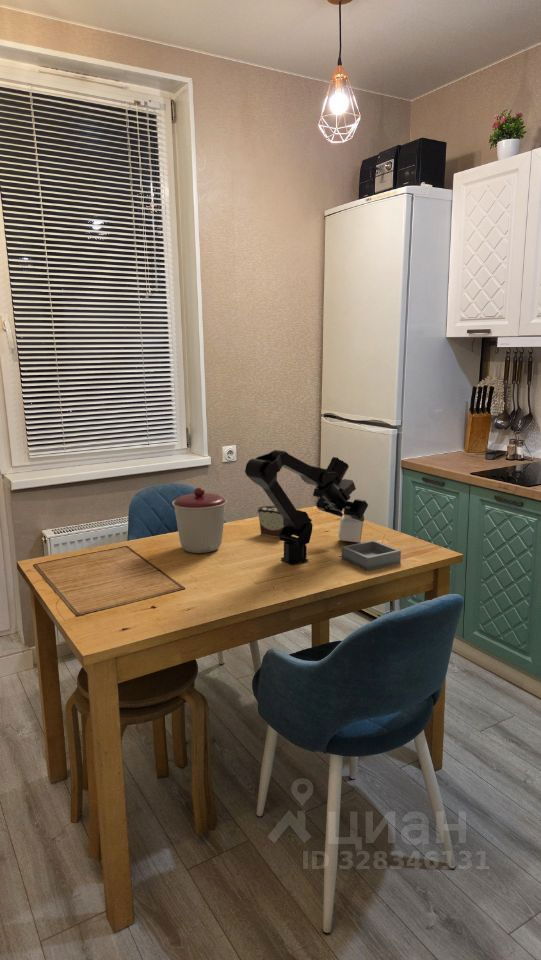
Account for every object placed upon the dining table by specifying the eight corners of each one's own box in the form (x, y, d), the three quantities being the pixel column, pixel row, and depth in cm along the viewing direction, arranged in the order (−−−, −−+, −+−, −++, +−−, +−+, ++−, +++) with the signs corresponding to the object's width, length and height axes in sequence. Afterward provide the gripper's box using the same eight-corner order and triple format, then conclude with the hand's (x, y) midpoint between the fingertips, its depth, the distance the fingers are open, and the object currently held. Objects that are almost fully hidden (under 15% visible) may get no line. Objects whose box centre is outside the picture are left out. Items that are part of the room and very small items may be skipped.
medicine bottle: (360, 542, 209) (365, 508, 208) (339, 540, 210) (344, 505, 209) (358, 539, 217) (362, 505, 216) (338, 536, 217) (342, 503, 216)
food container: (295, 534, 223) (295, 507, 221) (286, 538, 218) (286, 511, 216) (266, 529, 230) (266, 503, 228) (257, 533, 224) (256, 507, 222)
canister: (166, 556, 201) (163, 493, 197) (184, 539, 218) (181, 481, 214) (220, 558, 198) (218, 494, 194) (233, 541, 215) (232, 482, 211)
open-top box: (367, 570, 185) (367, 558, 184) (341, 558, 196) (341, 546, 196) (400, 563, 192) (400, 550, 191) (373, 551, 203) (373, 540, 202)
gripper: (364, 477, 199) (384, 503, 209) (321, 469, 212) (342, 494, 222) (349, 505, 195) (370, 531, 205) (306, 496, 209) (328, 520, 218)
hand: (352, 518), depth 213 cm, fingers closed on medicine bottle, 9 cm apart
